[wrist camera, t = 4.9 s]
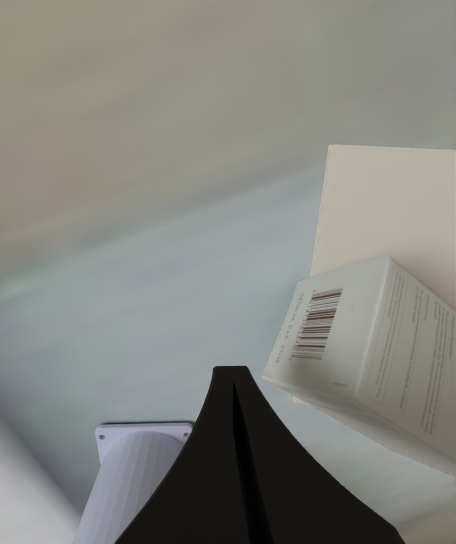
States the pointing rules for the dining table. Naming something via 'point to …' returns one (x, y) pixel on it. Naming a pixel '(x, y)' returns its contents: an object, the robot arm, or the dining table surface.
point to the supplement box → (374, 358)
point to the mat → (389, 213)
